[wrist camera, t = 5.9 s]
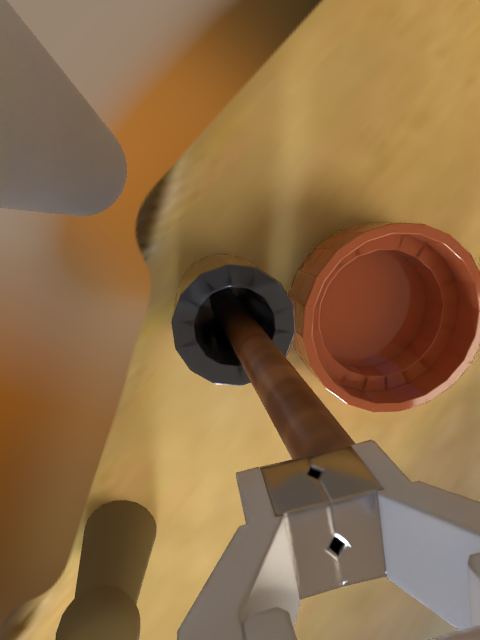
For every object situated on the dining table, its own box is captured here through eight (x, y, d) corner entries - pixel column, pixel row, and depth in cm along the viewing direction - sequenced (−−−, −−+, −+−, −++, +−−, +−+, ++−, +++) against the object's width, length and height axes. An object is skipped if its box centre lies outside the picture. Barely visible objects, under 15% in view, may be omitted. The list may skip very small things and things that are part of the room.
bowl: (261, 358, 34) (275, 382, 29) (321, 198, 32) (348, 193, 27) (402, 402, 37) (439, 432, 31) (467, 257, 35) (518, 262, 29)
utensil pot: (165, 325, 33) (156, 367, 23) (193, 240, 32) (196, 246, 22) (246, 350, 34) (270, 400, 24) (276, 269, 33) (313, 287, 23)
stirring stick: (205, 308, 32) (315, 533, 11) (214, 283, 31) (344, 471, 11) (229, 315, 32) (376, 542, 12) (238, 291, 32) (406, 483, 11)
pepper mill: (168, 515, 36) (161, 635, 26) (137, 570, 37) (116, 709, 26) (103, 489, 35) (67, 604, 24) (72, 547, 36) (23, 682, 25)
